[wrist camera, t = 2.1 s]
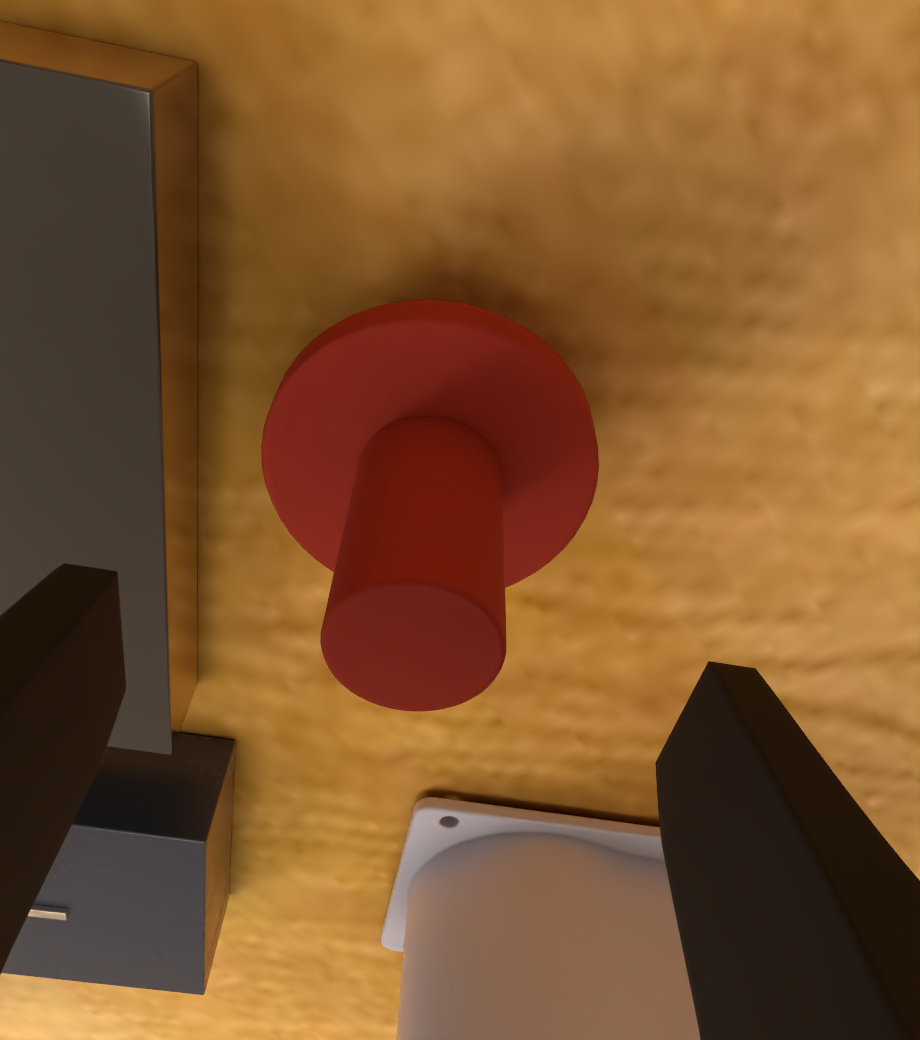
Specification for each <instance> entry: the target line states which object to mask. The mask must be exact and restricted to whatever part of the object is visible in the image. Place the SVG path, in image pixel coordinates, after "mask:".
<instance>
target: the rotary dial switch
mask: <svg viewBox="0 0 920 1040" xmlns="http://www.w3.org/2000/svg"><path fill="white" fill-rule="evenodd" d="M234 762H235V741H234V740H228V739H220V738H213V737H206V736H199V735H191V734H184V733H179V735H178V738H177V740H176V743H175V746H174V749H173V752H172V754H171V755H167V754H159V753H152V752H144V751H137V750H129V749H122V748H115V747H106V750H105V753H104V755H103V758H102V761H101V764H100V767H99V769H98V771H97V773H96V775H95V777H94V780H93V782H92V784H91V786H90V788H89V790H88V792H87V794H86V796H85V799H84V801H83V803H82V805H81V807H80V809H79V811H78V813H77V815H76V817H75V819H74V822H73V824H72V826H71V828H70V830H69V832H68V834H67V836H66V838H65V840H64V842H63V844H62V846H61V848H60V850H59V852H58V855H57V857H56V859H55V861H54V863H53V865H52V867H51V869H50V871H49V873H48V875H47V877H46V879H45V881H44V883H43V885H42V887H41V889H40V891H39V894H38V896H37V898H36V900H35V902H34V904H33V906H32V908H31V910H30V912H29V914H28V916H27V918H26V920H25V922H24V924H23V926H22V929H21V931H20V933H19V935H18V937H17V939H16V941H15V943H14V945H13V947H12V949H11V951H10V954H9V956H8V958H7V961H6V963H5V965H4V967H3V970H2V972H1V973H8V974H17V975H26V976H35V977H44V978H53V979H62V980H72V981H81V982H90V983H99V984H108V985H117V986H126V987H136V988H145V989H154V990H163V991H172V992H181V993H190V994H199V995H204V993H205V990H206V986H207V982H208V978H209V974H210V970H211V966H212V962H213V958H214V954H215V950H216V946H217V942H218V938H219V934H220V930H221V926H222V923H223V919H224V915H225V911H226V907H227V903H228V899H229V878H230V855H231V832H232V808H233V785H234Z"/></svg>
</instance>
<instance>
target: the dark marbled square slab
mask: <svg viewBox="0 0 920 1040" xmlns="http://www.w3.org/2000/svg"><path fill="white" fill-rule="evenodd" d="M64 563H66V564H73V565H80V566H86V567H93V568H99V569H106V570H112V571H118V584H119V597H120V611H121V624H122V637H123V651H124V664H125V677H126V691H125V694H124V697H123V700H122V703H121V706H120V709H119V712H118V715H117V718H116V721H115V724H114V727H113V730H112V733H111V736H110V739H109V741H108V744H107V747H115V748H122V749H129V750H137V751H144V752H152V753H159V754H167V755H171V754H172V752H173V749H174V746H175V743H176V740H177V738H178V735H179V732H180V729H181V727H182V724H183V721H184V718H185V715H186V713H187V710H188V707H189V704H190V702H191V699H192V696H193V693H194V690H195V688H196V685H197V64H196V63H195V62H194V61H189V60H184V59H180V58H175V57H170V56H165V55H160V54H156V53H151V52H146V51H141V50H136V49H131V48H127V47H122V46H117V45H112V44H107V43H103V42H98V41H93V40H88V39H83V38H79V37H74V36H69V35H64V34H59V33H55V32H50V31H45V30H40V29H35V28H31V27H26V26H21V25H16V24H11V23H7V22H2V21H0V615H1V614H3V613H4V612H5V611H6V610H7V609H9V608H10V607H11V606H12V605H13V604H14V603H16V602H17V601H18V600H19V599H20V598H21V597H23V596H24V595H25V594H26V593H27V592H29V591H30V590H31V589H32V588H33V587H34V586H36V585H37V584H38V583H39V582H40V581H41V580H43V579H44V578H45V577H46V576H47V575H49V574H50V573H51V572H52V571H53V570H55V569H56V568H58V567H59V566H61V565H62V564H64Z"/></svg>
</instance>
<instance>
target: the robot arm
mask: <svg viewBox="0 0 920 1040" xmlns="http://www.w3.org/2000/svg"><path fill="white" fill-rule="evenodd" d="M125 691H126V677H125V664H124V651H123V637H122V624H121V611H120V597H119V584H118V571H112V570H106V569H99V568H93V567H86V566H80V565H73V564H66V563H64V564H62V565H61V566H59V567H58V568H56V569H55V570H53V571H52V572H51V573H50V574H49V575H47V576H46V577H45V578H44V579H43V580H41V581H40V582H39V583H38V584H37V585H36V586H34V587H33V588H32V589H31V590H30V591H29V592H27V593H26V594H25V595H24V596H23V597H21V598H20V599H19V600H18V601H17V602H16V603H14V604H13V605H12V606H11V607H10V608H9V609H7V610H6V611H5V612H4V613H3V614H1V615H0V974H1V972H2V970H3V967H4V965H5V963H6V961H7V958H8V956H9V954H10V951H11V949H12V947H13V945H14V943H15V941H16V939H17V937H18V935H19V933H20V931H21V929H22V926H23V924H24V922H25V920H26V918H27V916H28V914H29V912H30V910H31V908H32V906H33V904H34V902H35V900H36V898H37V896H38V894H39V891H40V889H41V887H42V885H43V883H44V881H45V879H46V877H47V875H48V873H49V871H50V869H51V867H52V865H53V863H54V861H55V859H56V857H57V855H58V852H59V850H60V848H61V846H62V844H63V842H64V840H65V838H66V836H67V834H68V832H69V830H70V828H71V826H72V824H73V822H74V819H75V817H76V815H77V813H78V811H79V809H80V807H81V805H82V803H83V801H84V799H85V796H86V794H87V792H88V790H89V788H90V786H91V784H92V782H93V780H94V777H95V775H96V773H97V771H98V769H99V767H100V764H101V761H102V758H103V755H104V753H105V750H106V747H107V744H108V741H109V739H110V736H111V733H112V730H113V727H114V724H115V721H116V718H117V715H118V712H119V709H120V706H121V703H122V700H123V697H124V694H125ZM656 779H657V796H658V810H659V822H660V827H654V826H646V825H639V824H631V823H624V822H616V821H609V820H601V819H594V818H586V817H579V816H571V815H564V814H557V813H549V812H542V811H534V810H527V809H519V808H512V807H504V806H497V805H489V804H482V803H474V802H467V801H459V800H452V799H444V798H437V797H427V798H422V799H421V800H419V801H417V802H416V804H415V805H414V808H413V812H412V816H411V820H410V824H409V827H408V831H407V835H406V839H405V843H404V847H403V851H402V854H401V858H400V862H399V866H398V870H397V874H396V877H395V881H394V885H393V889H392V893H391V897H390V901H389V904H388V908H387V912H386V916H385V920H384V924H383V927H382V931H381V944H382V945H383V946H384V947H385V948H387V949H389V950H393V951H401V952H403V964H402V977H401V990H400V1002H399V1015H398V1028H397V1040H920V881H919V879H918V878H917V877H916V876H915V875H914V874H913V872H912V871H911V870H910V869H909V868H908V866H907V865H906V864H905V863H904V862H903V860H902V859H901V858H900V857H899V856H898V854H897V853H896V852H895V851H894V849H893V848H892V847H891V846H890V844H889V843H888V842H887V841H886V840H885V838H884V837H883V836H882V835H881V833H880V832H879V831H878V830H877V828H876V827H875V826H874V824H873V823H872V822H871V821H870V819H869V818H868V817H867V816H866V814H865V813H864V812H863V810H862V809H861V808H860V807H859V805H858V804H857V803H856V801H855V800H854V799H853V798H852V796H851V795H850V794H849V792H848V791H847V790H846V788H845V787H844V786H843V785H842V783H841V782H840V781H839V779H838V778H837V777H836V775H835V774H834V773H833V771H832V770H831V769H830V767H829V766H828V765H827V763H826V762H825V761H824V759H823V758H822V757H821V755H820V754H819V753H818V751H817V750H816V749H815V747H814V746H813V744H812V743H811V742H810V740H809V739H808V738H807V736H806V735H805V734H804V732H803V731H802V730H801V728H800V727H799V726H798V724H797V723H796V722H795V720H794V719H793V717H792V716H791V715H790V713H789V712H788V711H787V709H786V708H785V707H784V705H783V704H782V703H781V701H780V700H779V699H778V697H777V696H776V695H775V693H774V692H773V691H772V689H771V688H770V687H769V685H768V684H767V683H766V681H765V680H764V679H763V677H762V676H761V675H760V674H759V672H758V671H757V670H756V669H755V668H749V667H743V666H736V665H730V664H723V663H716V662H710V661H709V662H708V663H707V665H706V667H705V669H704V671H703V673H702V675H701V677H700V679H699V681H698V683H697V684H696V686H695V688H694V690H693V692H692V694H691V696H690V698H689V700H688V702H687V704H686V705H685V707H684V709H683V711H682V713H681V715H680V717H679V719H678V721H677V723H676V724H675V726H674V728H673V730H672V732H671V734H670V736H669V738H668V740H667V742H666V744H665V745H664V747H663V749H662V751H661V753H660V755H659V757H658V759H657V761H656Z"/></svg>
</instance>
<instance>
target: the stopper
mask: <svg viewBox="0 0 920 1040" xmlns="http://www.w3.org/2000/svg"><path fill="white" fill-rule="evenodd" d="M261 448H262V468H263V473H264V479H265V484H266V487H267V490H268V492H269V495H270V498H271V501H272V503H273V505H274V507H275V509H276V511H277V513H278V515H279V517H280V519H281V521H282V522H283V524H284V525H285V526H286V528H287V529H288V531H289V532H290V534H291V535H292V536H293V537H294V538H295V539H296V541H297V542H298V543H299V544H300V545H301V546H302V547H303V548H304V549H305V550H306V551H307V552H308V553H309V554H311V555H312V556H313V557H314V558H315V559H316V560H317V561H319V562H320V563H322V564H323V565H324V566H326V567H327V568H329V569H330V570H332V571H333V572H334V576H333V580H332V585H331V589H330V594H329V598H328V603H327V608H326V612H325V617H324V621H323V626H322V630H321V648H322V653H323V656H324V658H325V661H326V663H327V665H328V667H329V669H330V671H331V672H332V673H333V675H334V676H335V678H336V679H337V680H338V681H339V682H340V683H341V684H342V685H343V686H345V687H346V688H347V689H348V690H350V691H351V692H353V693H354V694H356V695H357V696H359V697H361V698H363V699H365V700H367V701H369V702H372V703H375V704H377V705H380V706H384V707H387V708H392V709H397V710H404V711H433V710H439V709H445V708H449V707H452V706H456V705H458V704H461V703H464V702H466V701H468V700H470V699H472V698H474V697H475V696H477V695H478V694H480V693H481V692H482V691H484V690H485V689H486V688H487V687H488V686H489V685H490V684H491V683H492V682H493V681H494V679H495V678H496V676H497V675H498V673H499V671H500V670H501V668H502V665H503V663H504V660H505V655H506V612H505V587H508V586H510V585H512V584H515V583H517V582H519V581H521V580H523V579H525V578H526V577H528V576H530V575H532V574H534V573H535V572H537V571H538V570H539V569H541V568H542V567H543V566H545V565H546V564H548V563H549V562H550V561H551V560H552V559H553V558H554V557H556V556H557V555H558V554H559V553H560V552H561V551H562V550H563V549H564V548H565V547H566V545H567V544H568V543H569V542H570V540H571V539H572V538H573V537H574V536H575V534H576V532H577V531H578V529H579V528H580V526H581V524H582V523H583V521H584V519H585V518H586V515H587V513H588V511H589V508H590V506H591V504H592V501H593V497H594V493H595V490H596V486H597V479H598V469H599V459H598V445H597V440H596V435H595V430H594V425H593V421H592V416H591V411H590V408H589V405H588V402H587V400H586V397H585V395H584V392H583V390H582V388H581V386H580V385H579V383H578V381H577V379H576V377H575V376H574V374H573V372H572V371H571V370H570V369H569V367H568V366H567V365H566V363H565V362H564V361H563V360H562V358H561V357H560V356H559V355H558V354H557V353H556V352H555V351H554V350H553V349H552V348H551V347H550V346H549V345H548V344H547V343H546V342H544V341H543V340H542V339H540V338H539V337H538V336H536V335H535V334H534V333H532V332H531V331H530V330H528V329H527V328H525V327H523V326H521V325H520V324H518V323H516V322H514V321H512V320H510V319H509V318H507V317H504V316H502V315H499V314H497V313H494V312H492V311H489V310H486V309H483V308H480V307H476V306H472V305H468V304H464V303H458V302H450V301H442V300H411V301H403V302H395V303H389V304H385V305H381V306H377V307H374V308H370V309H367V310H364V311H362V312H359V313H357V314H354V315H352V316H350V317H347V318H345V319H344V320H342V321H340V322H338V323H337V324H335V325H333V326H332V327H330V328H328V329H327V330H325V331H324V332H323V333H322V334H320V335H319V336H318V337H317V338H315V339H314V340H313V341H311V342H310V343H309V345H308V346H307V347H306V348H305V349H304V350H303V351H302V352H301V353H300V354H299V355H298V356H297V357H296V359H295V360H294V362H293V363H292V364H291V366H290V367H289V369H288V370H287V372H286V373H285V375H284V377H283V379H282V381H281V383H280V385H279V388H278V390H277V392H276V394H275V397H274V399H273V402H272V404H271V406H270V409H269V412H268V416H267V419H266V422H265V425H264V431H263V438H262V445H261Z"/></svg>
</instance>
